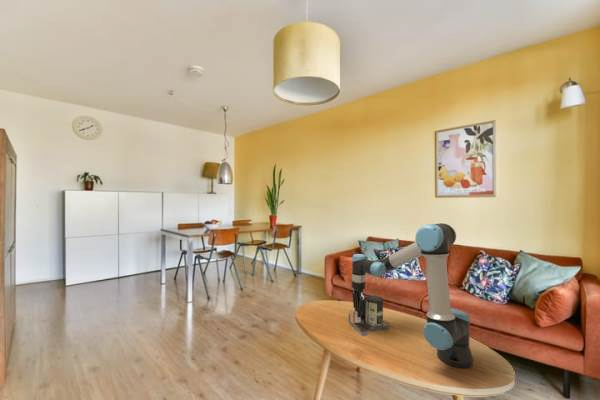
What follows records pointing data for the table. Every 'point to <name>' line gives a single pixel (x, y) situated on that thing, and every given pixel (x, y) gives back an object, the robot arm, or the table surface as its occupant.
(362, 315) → the tray
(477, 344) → the table surface
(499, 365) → the table surface
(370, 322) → the coffee can
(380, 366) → the table surface
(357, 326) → the rail
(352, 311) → the lever knob
